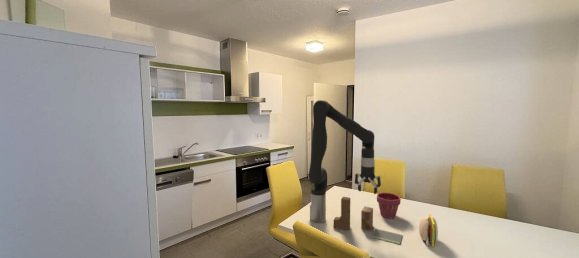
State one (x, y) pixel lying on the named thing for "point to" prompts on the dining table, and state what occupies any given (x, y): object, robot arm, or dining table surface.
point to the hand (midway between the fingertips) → (367, 192)
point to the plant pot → (388, 204)
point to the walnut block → (367, 218)
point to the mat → (387, 236)
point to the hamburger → (428, 229)
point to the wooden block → (343, 215)
